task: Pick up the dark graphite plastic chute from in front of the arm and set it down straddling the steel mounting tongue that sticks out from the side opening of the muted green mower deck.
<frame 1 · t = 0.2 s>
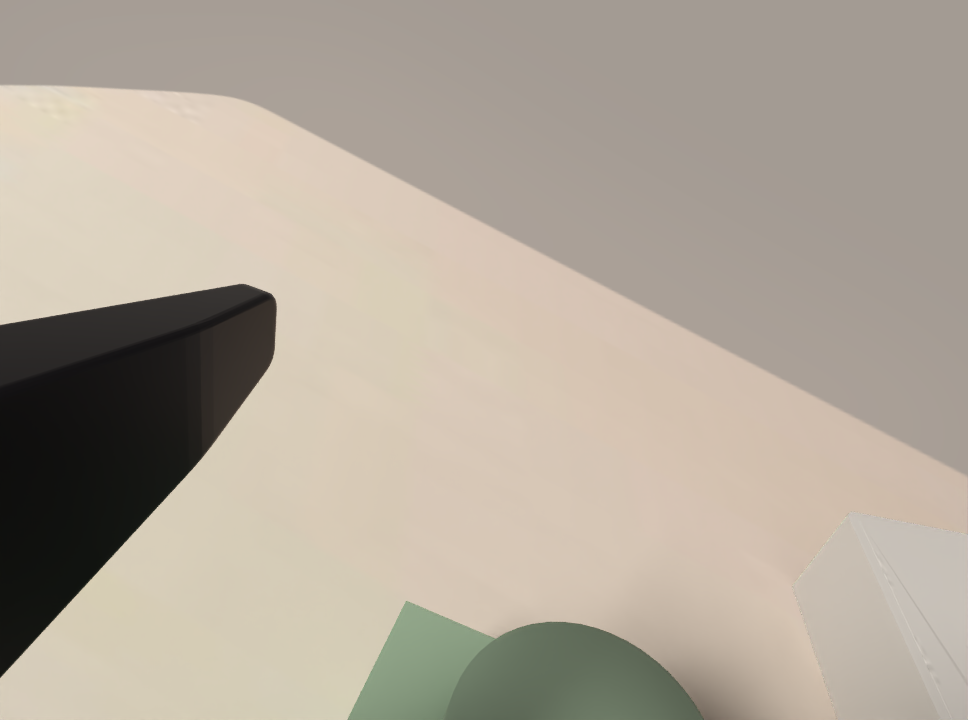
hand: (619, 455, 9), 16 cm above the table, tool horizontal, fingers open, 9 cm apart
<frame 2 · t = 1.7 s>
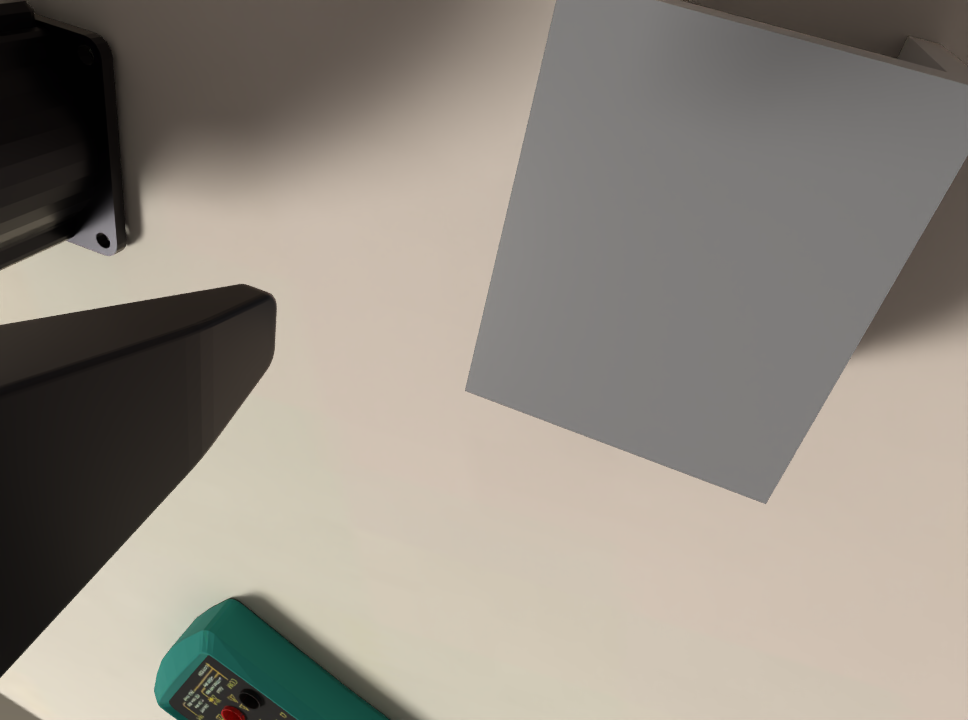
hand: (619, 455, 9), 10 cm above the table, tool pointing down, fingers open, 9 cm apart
digital multimeter: (335, 712, 34), on the table
chute: (701, 188, 17), on the table
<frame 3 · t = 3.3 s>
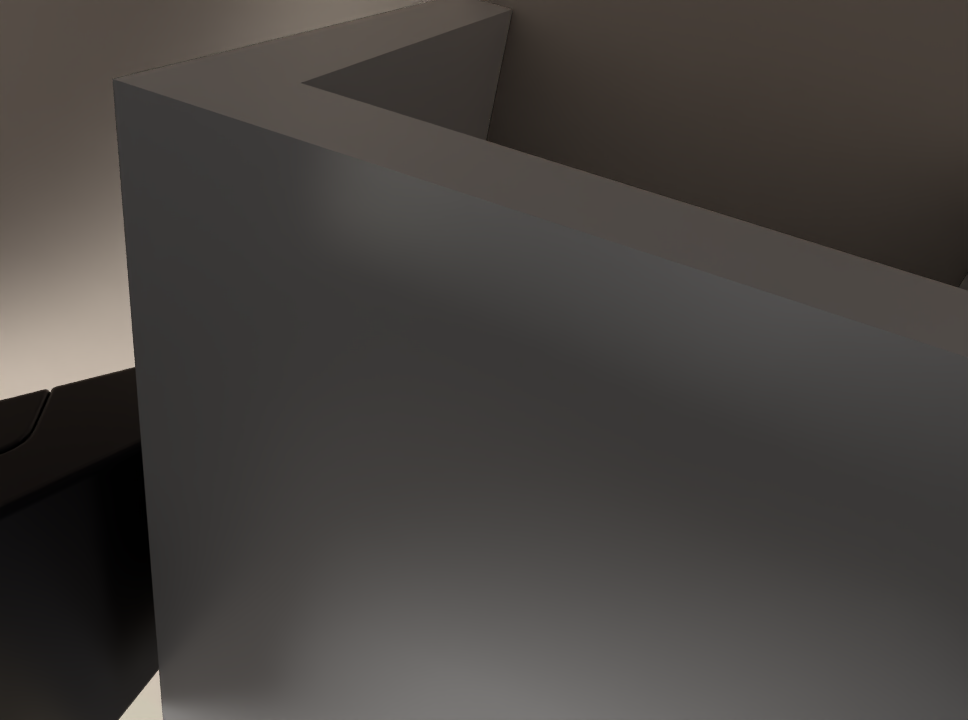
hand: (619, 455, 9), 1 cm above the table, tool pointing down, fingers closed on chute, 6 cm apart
chute: (635, 398, 10), on the table, touching gripper
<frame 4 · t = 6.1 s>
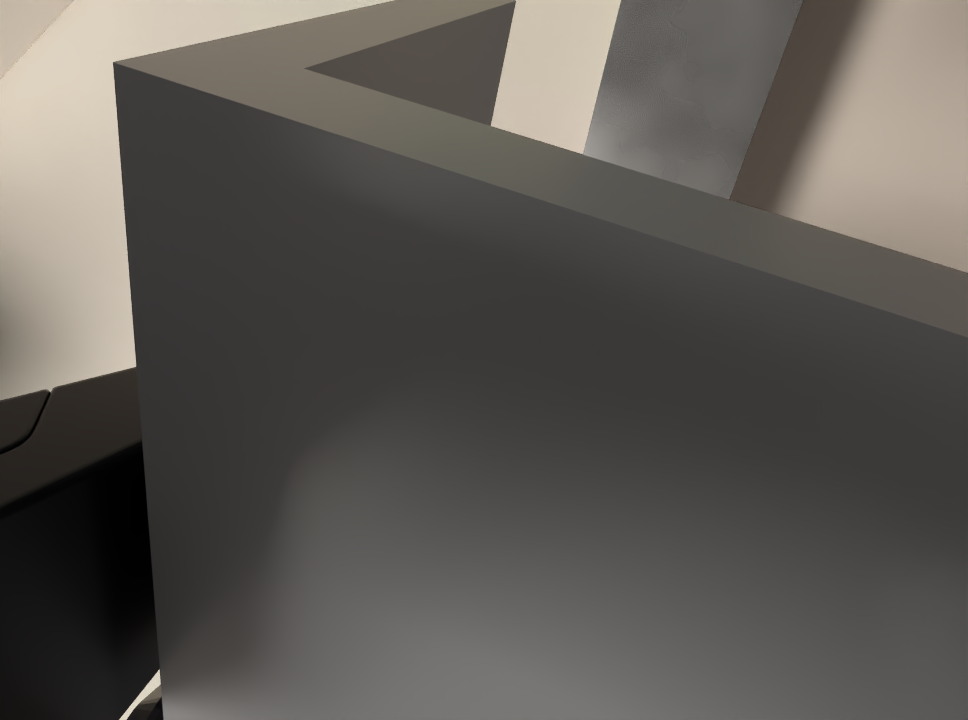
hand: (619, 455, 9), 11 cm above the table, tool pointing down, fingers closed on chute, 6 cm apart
chute: (639, 394, 9), point 10 cm above the table, touching gripper
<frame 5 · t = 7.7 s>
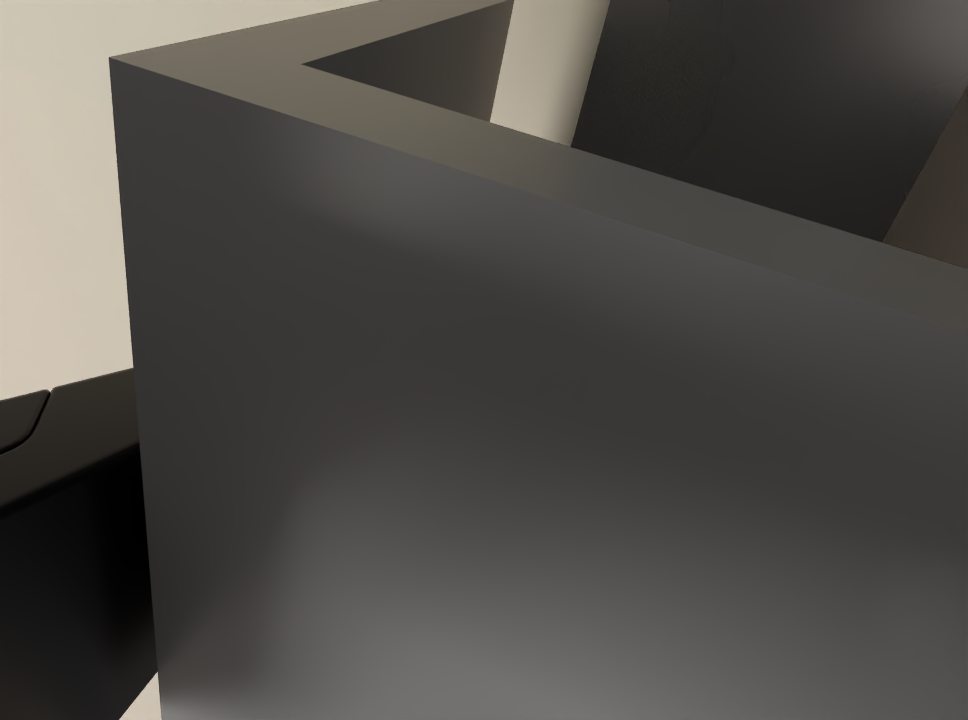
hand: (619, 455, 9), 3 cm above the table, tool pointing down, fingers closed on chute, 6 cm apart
chute: (638, 392, 9), point 2 cm above the table, touching gripper
when the fingers open (2 cm above the table, at t = 8.8 s): chute stays where it is, on the table.
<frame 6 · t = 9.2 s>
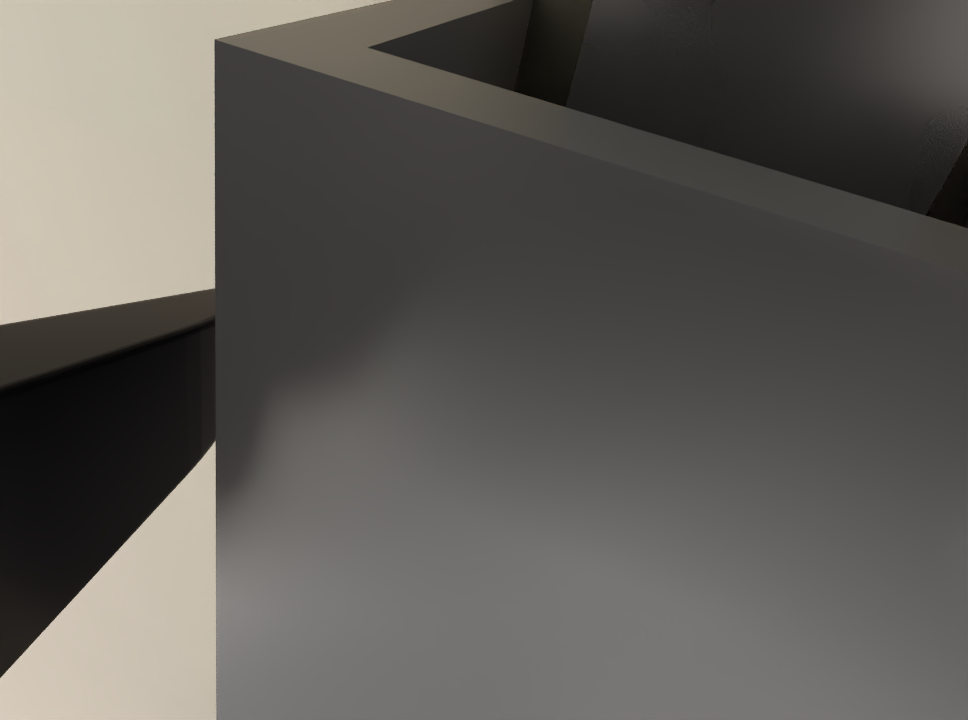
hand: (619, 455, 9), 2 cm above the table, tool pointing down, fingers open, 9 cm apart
chute: (646, 360, 10), on the table
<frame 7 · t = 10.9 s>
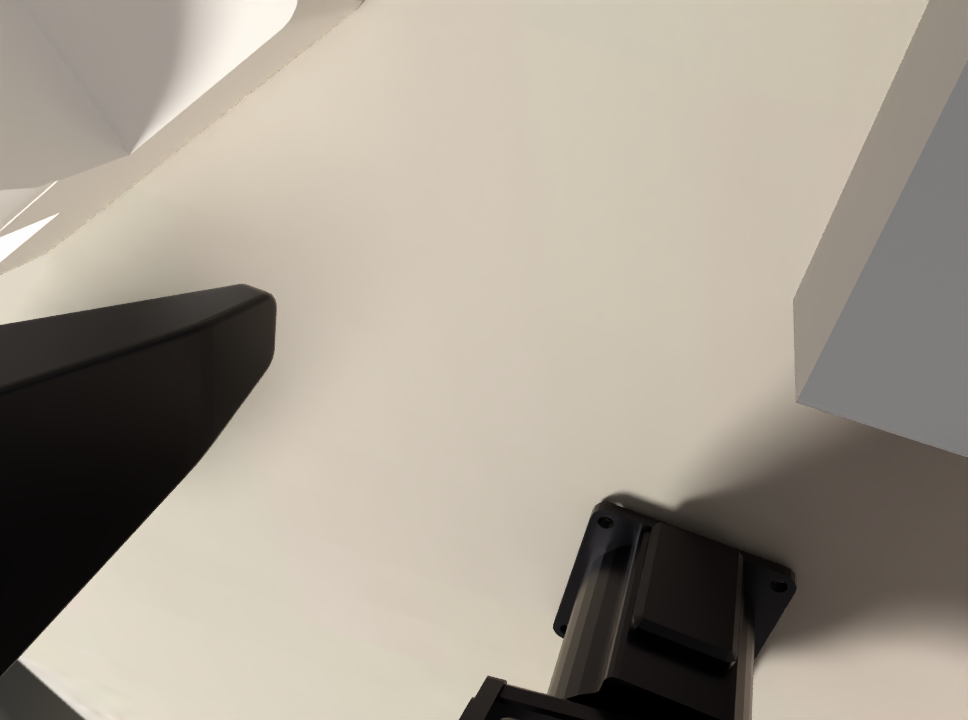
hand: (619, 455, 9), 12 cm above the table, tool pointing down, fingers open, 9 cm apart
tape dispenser: (82, 5, 22), on the table
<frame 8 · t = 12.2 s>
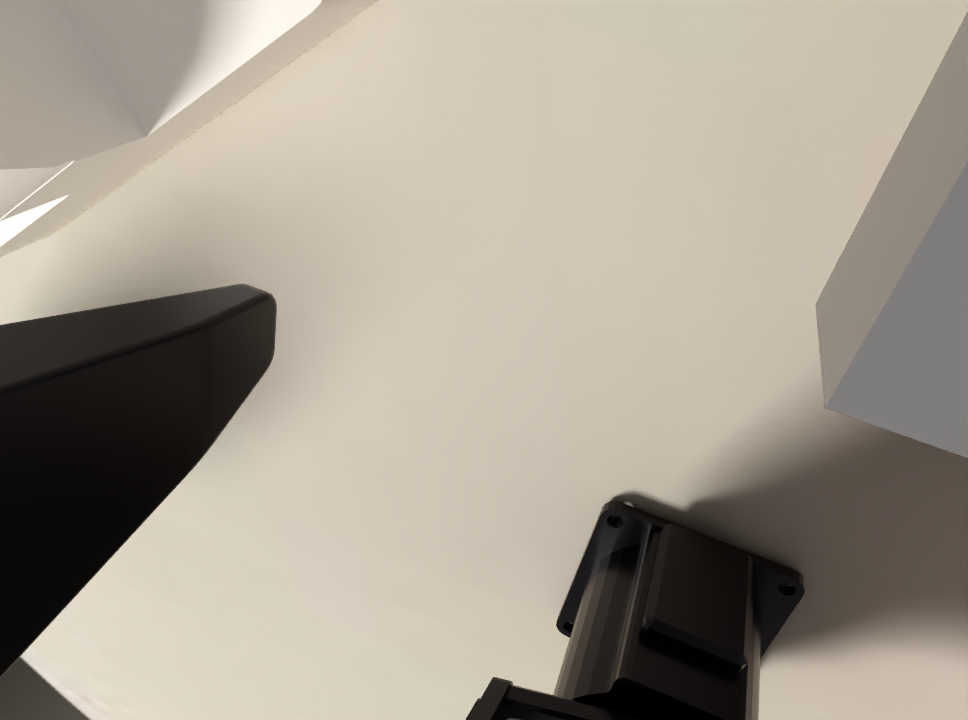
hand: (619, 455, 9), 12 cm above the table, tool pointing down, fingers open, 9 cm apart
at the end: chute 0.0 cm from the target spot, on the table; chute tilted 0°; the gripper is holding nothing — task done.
